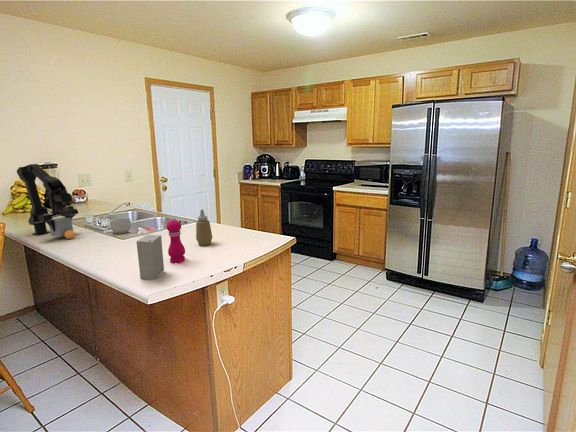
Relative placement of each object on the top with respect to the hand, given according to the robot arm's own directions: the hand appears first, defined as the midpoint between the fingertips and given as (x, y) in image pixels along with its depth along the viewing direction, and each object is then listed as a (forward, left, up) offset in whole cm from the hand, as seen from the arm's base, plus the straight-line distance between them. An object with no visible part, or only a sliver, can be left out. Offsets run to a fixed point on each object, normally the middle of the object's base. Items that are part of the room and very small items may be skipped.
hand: (61, 229), depth 191 cm
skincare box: (+91, -22, -5) cm, 94 cm away
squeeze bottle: (+85, +18, -5) cm, 87 cm away
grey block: (0, 0, -3) cm, 3 cm away
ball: (+6, 0, -2) cm, 7 cm away
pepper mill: (+89, -6, -5) cm, 89 cm away
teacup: (+23, +21, -5) cm, 32 cm away
